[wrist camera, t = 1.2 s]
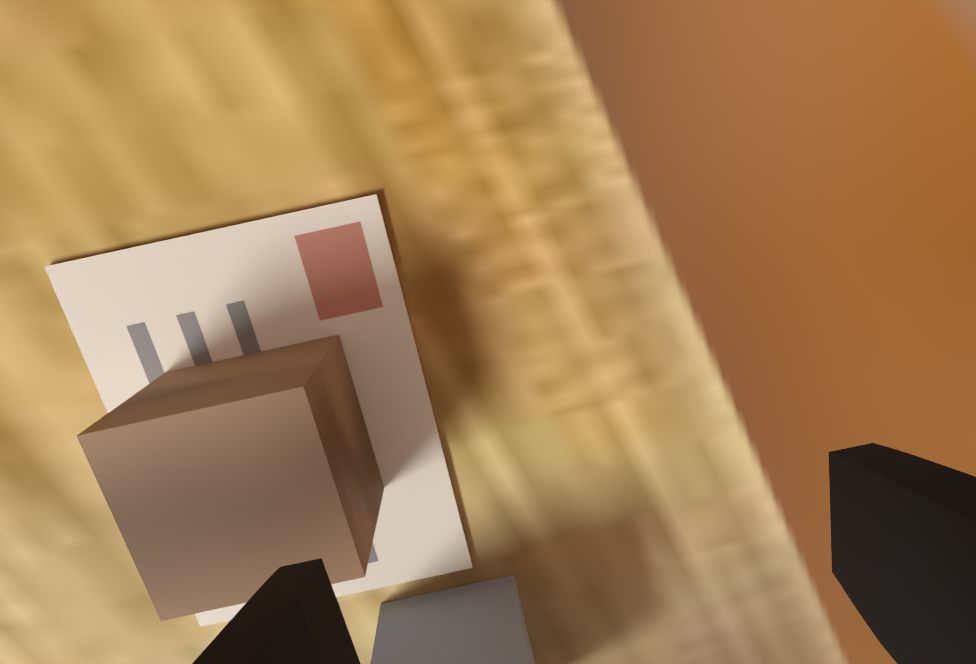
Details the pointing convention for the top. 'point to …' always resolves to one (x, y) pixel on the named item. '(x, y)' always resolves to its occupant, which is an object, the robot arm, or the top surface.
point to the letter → (277, 323)
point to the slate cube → (455, 627)
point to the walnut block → (240, 475)
